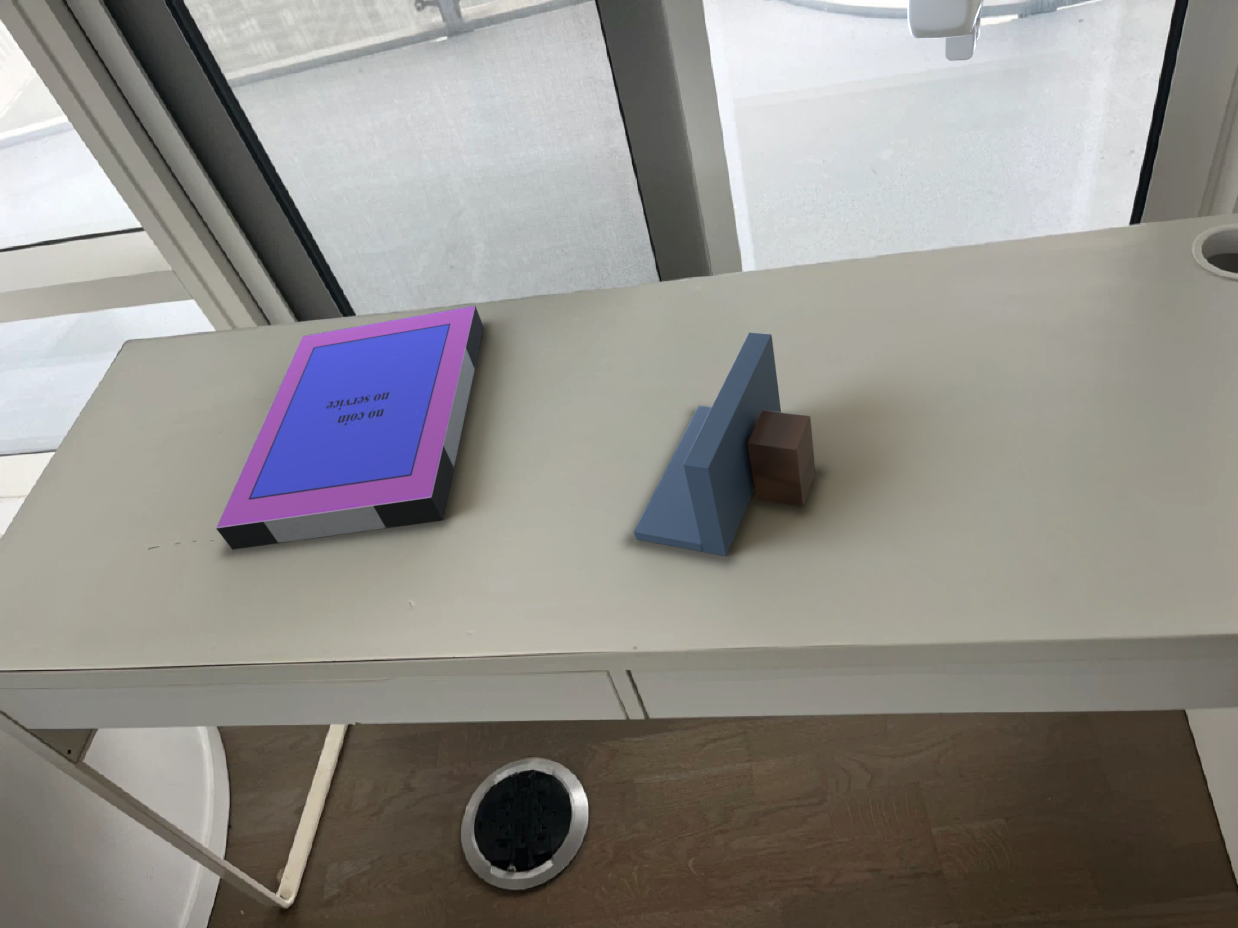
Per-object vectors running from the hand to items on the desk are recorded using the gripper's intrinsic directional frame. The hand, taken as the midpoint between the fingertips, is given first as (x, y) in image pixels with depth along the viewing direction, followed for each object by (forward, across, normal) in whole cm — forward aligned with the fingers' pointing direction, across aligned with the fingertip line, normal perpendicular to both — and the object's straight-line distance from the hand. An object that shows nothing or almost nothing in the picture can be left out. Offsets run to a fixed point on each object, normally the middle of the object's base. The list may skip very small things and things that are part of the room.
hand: (962, 51), depth 62 cm
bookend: (+29, -16, +17) cm, 37 cm away
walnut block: (+26, -16, +10) cm, 32 cm away
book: (+29, -16, +55) cm, 64 cm away
